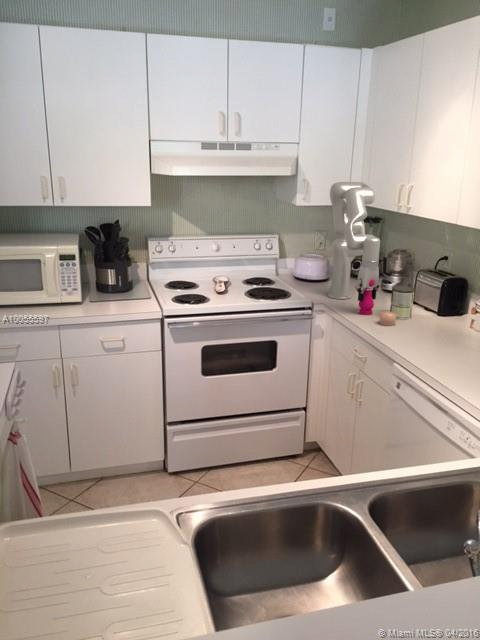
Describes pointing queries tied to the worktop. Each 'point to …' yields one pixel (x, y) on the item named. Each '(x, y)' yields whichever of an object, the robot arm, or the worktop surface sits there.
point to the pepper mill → (367, 300)
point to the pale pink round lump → (387, 318)
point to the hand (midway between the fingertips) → (366, 299)
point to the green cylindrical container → (402, 301)
